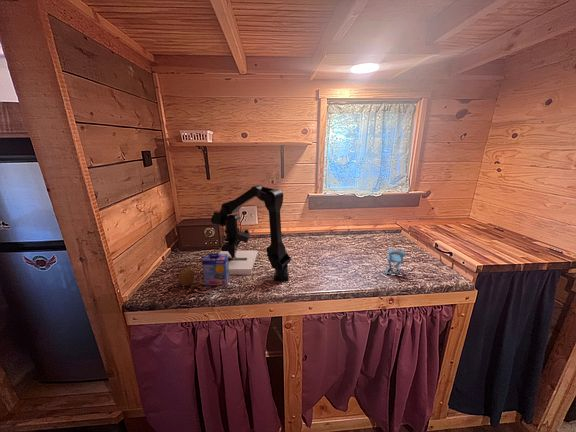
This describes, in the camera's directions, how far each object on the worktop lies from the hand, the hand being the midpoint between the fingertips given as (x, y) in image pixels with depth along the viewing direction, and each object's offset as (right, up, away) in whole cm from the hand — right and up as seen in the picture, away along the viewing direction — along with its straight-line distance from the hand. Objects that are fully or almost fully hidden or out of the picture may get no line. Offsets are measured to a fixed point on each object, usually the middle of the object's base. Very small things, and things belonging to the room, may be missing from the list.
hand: (234, 256), depth 115 cm
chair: (+77, -6, -6) cm, 78 cm away
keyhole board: (0, -4, +1) cm, 4 cm away
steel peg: (0, -4, +1) cm, 4 cm away
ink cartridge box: (-4, -9, -14) cm, 17 cm away
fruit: (-16, -9, -17) cm, 25 cm away
